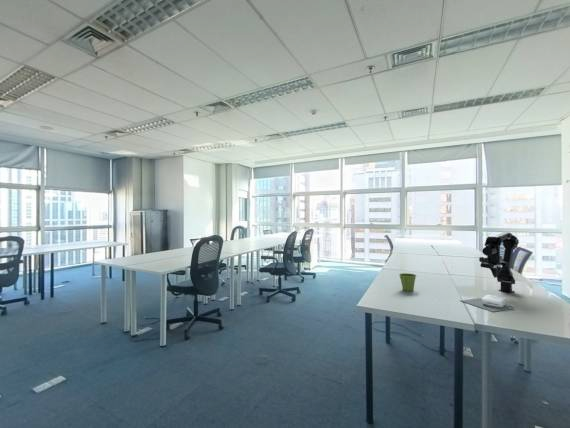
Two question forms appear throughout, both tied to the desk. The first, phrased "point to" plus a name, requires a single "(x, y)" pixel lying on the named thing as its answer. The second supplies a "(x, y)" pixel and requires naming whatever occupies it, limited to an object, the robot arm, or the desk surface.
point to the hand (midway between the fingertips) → (495, 277)
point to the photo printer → (494, 301)
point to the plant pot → (407, 281)
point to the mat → (478, 303)
